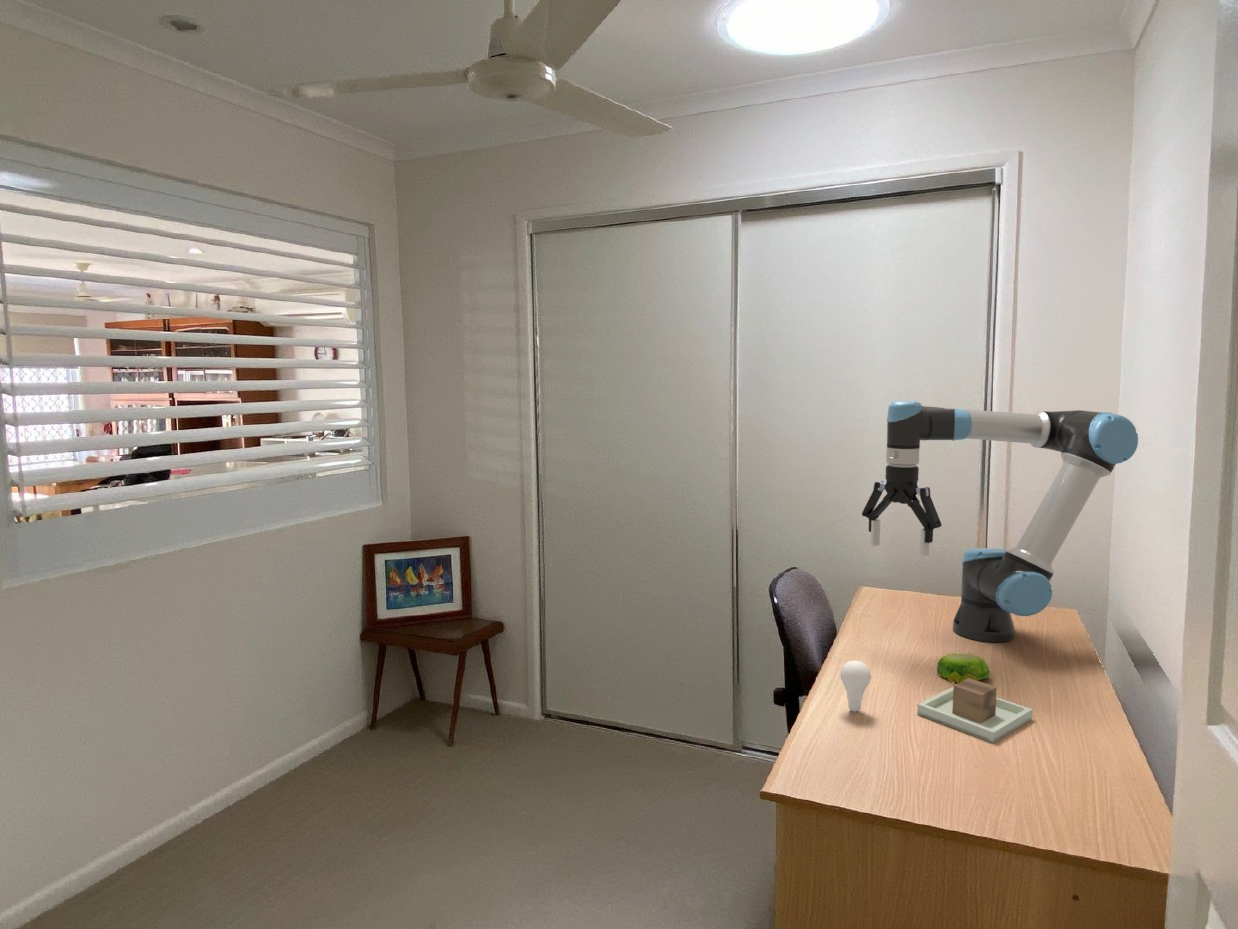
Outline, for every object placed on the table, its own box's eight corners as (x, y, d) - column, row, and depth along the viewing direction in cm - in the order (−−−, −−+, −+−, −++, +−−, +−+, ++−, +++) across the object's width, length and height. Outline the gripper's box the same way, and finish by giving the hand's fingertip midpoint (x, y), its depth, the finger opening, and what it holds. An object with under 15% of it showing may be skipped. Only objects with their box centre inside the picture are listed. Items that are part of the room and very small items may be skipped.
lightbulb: (869, 707, 166) (871, 657, 165) (869, 719, 160) (871, 668, 159) (840, 703, 168) (841, 654, 167) (838, 715, 162) (839, 665, 161)
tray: (957, 693, 172) (958, 684, 172) (1032, 719, 160) (1032, 709, 159) (917, 714, 162) (917, 704, 162) (993, 743, 150) (993, 732, 150)
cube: (967, 705, 165) (968, 678, 164) (995, 715, 160) (996, 687, 160) (952, 713, 161) (953, 685, 161) (980, 723, 157) (982, 695, 156)
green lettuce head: (994, 687, 176) (995, 666, 175) (943, 684, 178) (944, 663, 177) (980, 668, 187) (981, 648, 186) (932, 665, 189) (933, 646, 188)
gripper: (849, 461, 197) (847, 543, 200) (942, 471, 177) (938, 562, 180) (867, 459, 201) (864, 539, 204) (959, 468, 182) (955, 557, 184)
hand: (899, 550), depth 192 cm, fingers open, 13 cm apart
